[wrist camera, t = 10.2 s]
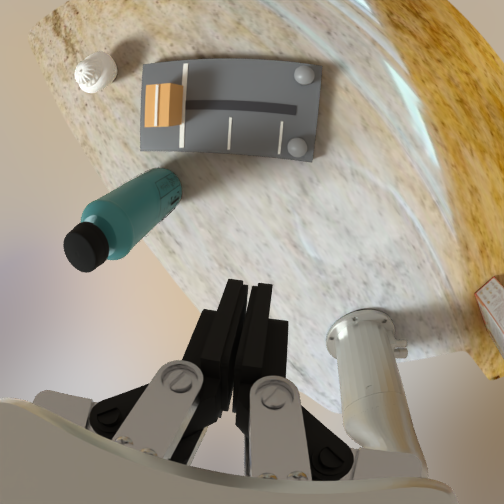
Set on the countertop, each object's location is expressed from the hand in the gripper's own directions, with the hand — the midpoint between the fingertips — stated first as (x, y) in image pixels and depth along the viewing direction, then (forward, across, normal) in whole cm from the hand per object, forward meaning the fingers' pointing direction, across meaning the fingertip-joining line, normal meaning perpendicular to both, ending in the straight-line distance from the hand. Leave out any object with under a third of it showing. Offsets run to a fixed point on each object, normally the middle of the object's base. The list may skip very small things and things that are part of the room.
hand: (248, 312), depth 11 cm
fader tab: (+25, +13, -8) cm, 29 cm away
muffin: (+27, +25, -14) cm, 40 cm away
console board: (+27, +7, -8) cm, 29 cm away
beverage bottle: (+27, +15, +3) cm, 31 cm away
